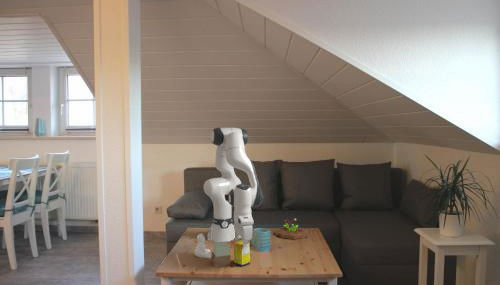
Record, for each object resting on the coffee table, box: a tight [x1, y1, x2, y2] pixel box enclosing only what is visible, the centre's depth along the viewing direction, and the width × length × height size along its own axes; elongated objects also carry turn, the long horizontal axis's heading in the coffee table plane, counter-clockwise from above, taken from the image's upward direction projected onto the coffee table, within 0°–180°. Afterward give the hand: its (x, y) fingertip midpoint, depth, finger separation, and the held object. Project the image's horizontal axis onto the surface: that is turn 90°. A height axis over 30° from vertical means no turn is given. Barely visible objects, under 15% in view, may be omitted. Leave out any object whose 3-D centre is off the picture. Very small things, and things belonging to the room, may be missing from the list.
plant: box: [274, 217, 309, 240], centre depth 233 cm, size 20×20×11 cm
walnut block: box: [211, 251, 231, 267], centre depth 182 cm, size 8×8×5 cm
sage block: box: [212, 241, 231, 257], centre depth 182 cm, size 7×7×5 cm
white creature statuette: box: [193, 233, 211, 259], centre depth 192 cm, size 10×9×12 cm
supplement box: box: [233, 239, 251, 267], centre depth 181 cm, size 6×6×11 cm
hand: (242, 244), depth 181 cm, fingers open, 8 cm apart
